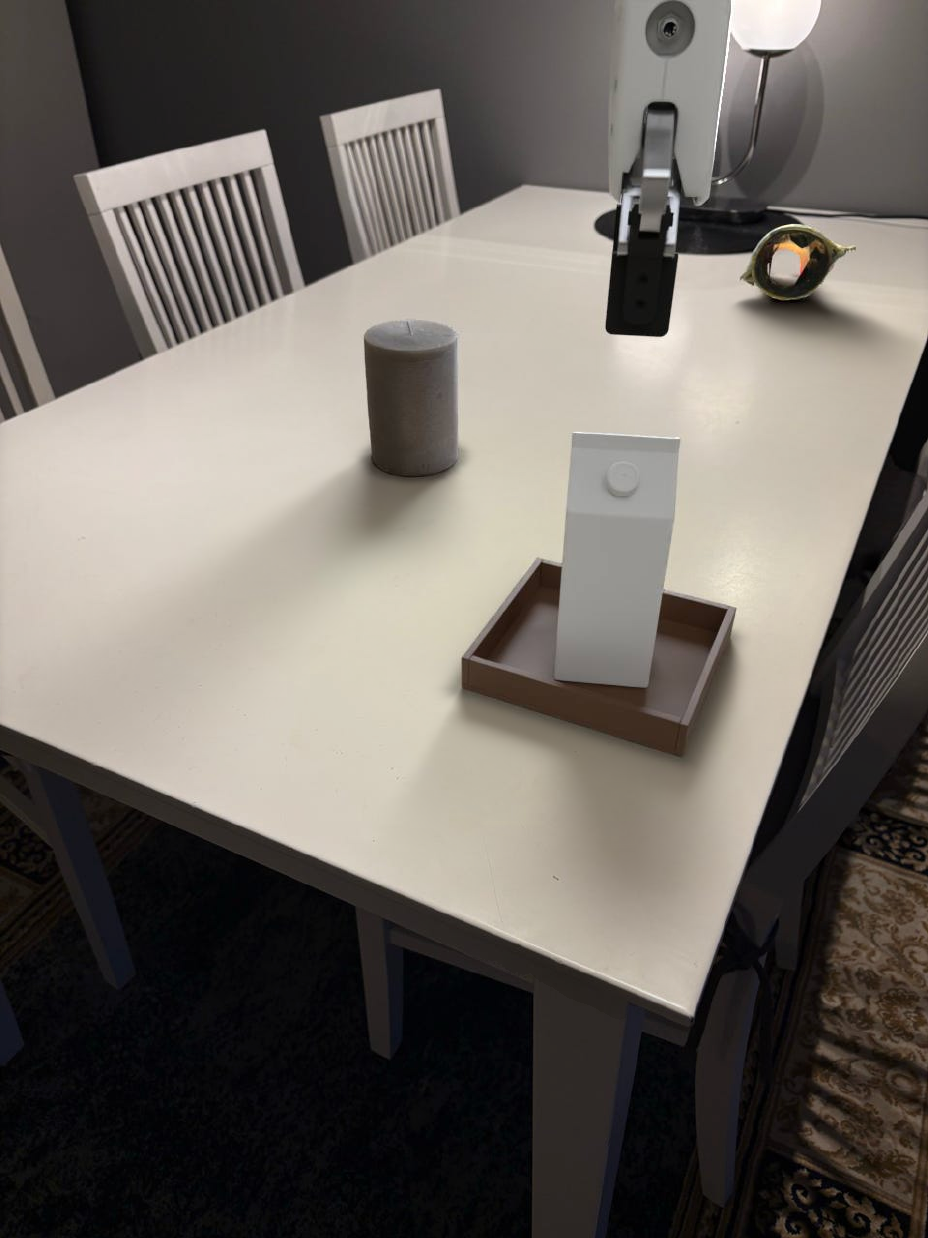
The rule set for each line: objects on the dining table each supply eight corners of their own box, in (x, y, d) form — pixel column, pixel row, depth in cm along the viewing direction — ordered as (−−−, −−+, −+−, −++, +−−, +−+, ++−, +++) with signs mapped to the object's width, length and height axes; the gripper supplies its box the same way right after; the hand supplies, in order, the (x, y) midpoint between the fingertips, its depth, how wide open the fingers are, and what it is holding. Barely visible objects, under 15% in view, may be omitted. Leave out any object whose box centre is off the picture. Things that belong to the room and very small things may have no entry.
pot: (838, 216, 149) (853, 202, 132) (848, 286, 152) (863, 282, 135) (730, 246, 154) (731, 237, 138) (741, 314, 157) (744, 313, 141)
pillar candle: (374, 480, 96) (365, 341, 87) (368, 440, 104) (359, 307, 95) (465, 473, 97) (465, 335, 88) (452, 434, 105) (451, 303, 96)
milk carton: (558, 625, 75) (574, 410, 64) (645, 632, 74) (678, 415, 63) (553, 681, 69) (570, 456, 58) (647, 690, 69) (683, 463, 57)
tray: (730, 636, 75) (736, 607, 73) (682, 757, 64) (688, 726, 62) (535, 585, 81) (537, 556, 79) (461, 687, 70) (461, 657, 68)
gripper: (791, -88, 33) (714, 365, 44) (748, -82, 47) (697, 262, 57) (584, -87, 34) (557, 356, 44) (601, -81, 48) (577, 257, 58)
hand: (636, 303), depth 51 cm, fingers open, 9 cm apart
